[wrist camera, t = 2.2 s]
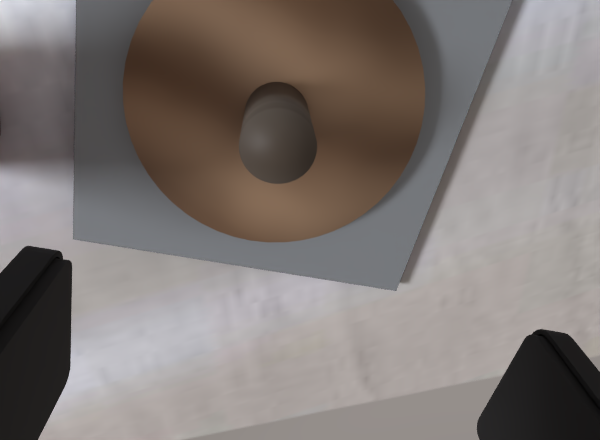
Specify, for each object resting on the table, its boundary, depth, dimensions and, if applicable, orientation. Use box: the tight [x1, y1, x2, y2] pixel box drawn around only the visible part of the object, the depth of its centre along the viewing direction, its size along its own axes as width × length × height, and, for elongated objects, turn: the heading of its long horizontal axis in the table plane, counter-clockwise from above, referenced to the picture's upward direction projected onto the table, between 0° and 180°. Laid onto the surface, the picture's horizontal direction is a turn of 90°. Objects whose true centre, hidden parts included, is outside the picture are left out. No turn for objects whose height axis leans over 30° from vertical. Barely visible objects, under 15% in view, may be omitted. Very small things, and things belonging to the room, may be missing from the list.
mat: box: [73, 0, 512, 291], centre depth 25 cm, size 20×20×1 cm
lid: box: [123, 0, 425, 242], centre depth 22 cm, size 15×15×6 cm
